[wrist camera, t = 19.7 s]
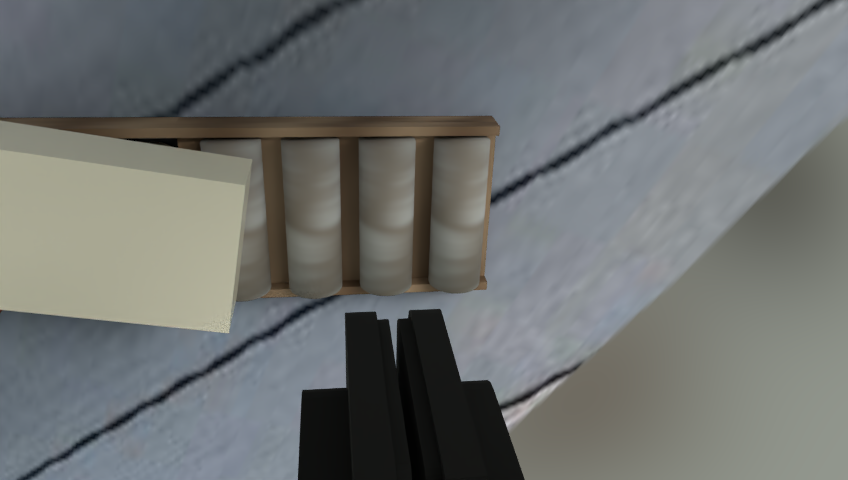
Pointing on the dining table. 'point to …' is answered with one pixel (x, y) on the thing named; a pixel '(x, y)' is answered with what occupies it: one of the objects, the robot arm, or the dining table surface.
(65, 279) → the slab
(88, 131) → the track
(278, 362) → the dining table surface
